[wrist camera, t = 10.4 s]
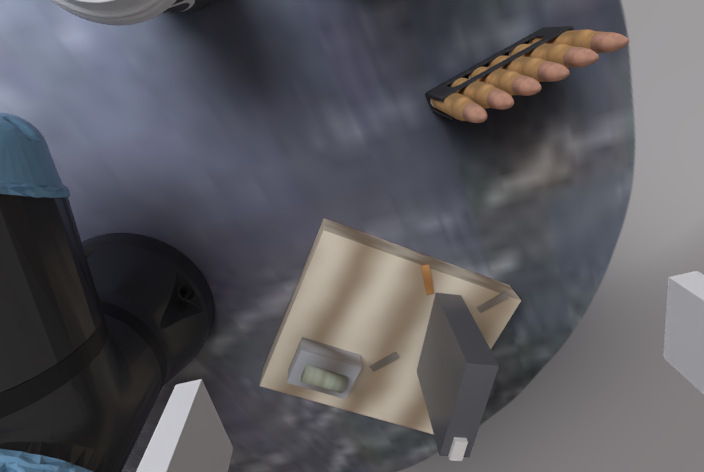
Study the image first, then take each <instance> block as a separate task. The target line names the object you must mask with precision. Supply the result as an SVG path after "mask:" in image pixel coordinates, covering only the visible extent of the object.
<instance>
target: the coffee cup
mask: <svg viewBox="0 0 704 472" xmlns="http://www.w3.org/2000/svg"><path fill="white" fill-rule="evenodd" d="M51 1H53V2H54V3H55V4H57V5H58V6H60V7H61V8H63V9H65V10H66V11H68V12H70V13H72V14H74V15H76V16H78V17H81V18H83V19H86V20H89V21H92V22H96V23H101V24H107V25H131V24H136V23H140V22H144V21H147V20H149V19H151V18H154V17H156V16H157V15H159V14H161V13H168V12H189V11H196V10H199V9H202V8H204V7H206V6H207V5H209V4H210V3H211V2H212V1H213V0H51Z"/></svg>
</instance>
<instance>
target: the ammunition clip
mask: <svg viewBox="0 0 704 472" xmlns="http://www.w3.org/2000/svg"><path fill="white" fill-rule="evenodd" d="M628 43H629V40H628V38H626V37H625V36H623V35H621V34H618V33H613V32H597V31H593V30H588V29H587V30H574V29H573V26H565V27H547V28H541V29H540V30H538V31H536V32H534V33H532V34H531V35H529V36H527V37H525V38H523V39H522V40H520V41H518V42H516V43H514V44H513V45H511V46H509V47H507V48H505V49H504V50H502V51H500V52H498V53H496V54H495V55H493V56H491V57H489V58H487V59H486V60H484V61H482V62H480V63H478V64H477V65H475V66H473V67H471V68H469V69H468V70H466V71H464V72H462V73H460V74H459V75H457V76H455V77H453V78H451V79H450V80H448V81H446V82H444V83H442V84H441V85H439V86H437V87H435V88H433V89H432V90H430V91H428V92H426V94H425V95H426V98H427V100H428V102H429V104H430V107H431V109H432V111H433V113H435V114H438V115H440V116H443V117H445V118H447V119H450V120H453V119H455V118H456V119H458V120H461V121H469V122H472V123H482V122H484V121H485V120H486V119H487V113H486V111H485V109H484V108H495V109H501V110H502V109H508V108H510V107H512V106H513V105H514V99H513V98H512V95H522V96H529V95H534V94H537V93H538V92H540V91H541V88H542V87H541V84H540V83H539V82H554V81H560V80H562V79H565V78H566V77H568V76H569V73H570V72H569V70H568V69H567V68H571V67H583V66H588V65H590V64H593V63H595V62H596V61H597V60H598V59H599V56H598V54H597V53H605V52H611V51H616V50H618V49H621V48H623V47H624V46H626V45H627V44H628Z"/></svg>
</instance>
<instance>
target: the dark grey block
mask: <svg viewBox="0 0 704 472" xmlns="http://www.w3.org/2000/svg"><path fill="white" fill-rule="evenodd" d="M498 368H499V364H498V363H497V361H496V359H495V357H494V355H493V353H492V352H491V350H490V348H489V346H488V344H487V342H486V340H485V339H484V337H483V335H482V333H481V331H480V329H479V328H478V326H477V324H476V322H475V320H474V318H473V316H472V315H471V313H470V311H469V309H468V307H467V305H466V304H465V302H464V300H463V298H462V296H461V295H454V294H444V293H436V294H435V298H434V302H433V306H432V310H431V314H430V318H429V322H428V326H427V331H426V335H425V339H424V343H423V347H422V351H421V355H420V359H419V363H418V367H417V375H418V378H419V382H420V386H421V389H422V393H423V397H424V400H425V404H426V407H427V411H428V415H429V418H430V422H431V426H432V429H433V433H434V436H435V440H436V444H437V447H438V451H439V454H440V455H441V456H448V457H449V460H452V461H462V459H463V457H469V456H470V453H471V450H472V446H473V444H474V441H475V437H476V435H477V432H478V429H479V426H480V423H481V420H482V417H483V414H484V411H485V408H486V405H487V402H488V399H489V396H490V392H491V389H492V386H493V383H494V380H495V377H496V374H497V371H498Z"/></svg>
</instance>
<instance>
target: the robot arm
mask: <svg viewBox="0 0 704 472" xmlns="http://www.w3.org/2000/svg"><path fill="white" fill-rule="evenodd" d="M69 196H70V193H69V190H68V188H67V187H65V186H63V184H62V181H61V179H60V177H59V174H58V172H57V169H56V167H55V164H54V162H53V159H52V156H51V154H50V151H49V148H48V146H47V143H46V141H45V139H44V137H43V136H42V134H41V133H40V132H39V131H38V129H37V128H35V127H34V126H33V125H32V124H30V123H29V122H27V121H26V120H24V119H22V118H20V117H17V116H14V115H10V114H6V113H0V472H121V471H122V469H123V467H124V465H125V463H126V461H127V459H128V457H129V455H130V453H131V451H132V449H133V446H134V444H135V442H136V440H137V438H138V436H139V434H140V432H141V430H142V428H143V426H144V424H145V422H146V420H147V418H148V415H149V413H150V411H151V409H152V407H153V405H154V403H155V401H156V399H157V397H158V394H159V392H160V390H161V388H162V386H164V385H165V384H166V383H167V382H168V381H169V380H170V379H172V378H173V377H174V376H175V375H176V374H177V373H178V372H180V371H181V370H182V369H183V368H184V367H185V366H187V365H188V364H189V363H190V362H191V361H192V360H193V359H194V358H195V357H196V355H197V354H198V353H199V351H200V350H201V348H202V347H203V345H204V343H205V340H206V338H207V336H208V333H209V331H210V328H211V325H212V321H213V315H214V306H213V299H212V295H211V292H210V289H209V286H208V284H207V282H206V280H205V278H204V277H203V275H202V274H201V272H200V271H199V270H198V269H197V267H196V266H195V265H194V264H193V263H192V262H191V261H190V260H189V259H188V258H187V257H186V256H184V255H183V254H182V253H180V252H179V251H177V250H176V249H174V248H173V247H171V246H169V245H167V244H165V243H163V242H161V241H159V240H156V239H153V238H150V237H146V236H142V235H137V234H129V233H113V234H105V235H101V236H97V237H94V238H91V239H88V240H86V241H84V242H81V239H80V236H79V233H78V229H77V226H76V223H75V220H74V216H73V213H72V210H71V206H70V203H69V200H68V197H69ZM663 357H664V359H665V360H667V361H668V362H669V363H670V364H671V365H672V366H673V367H674V368H675V369H676V370H677V371H678V372H679V373H681V374H682V375H683V376H684V377H685V378H686V379H687V380H688V381H689V382H690V383H692V384H693V385H694V386H695V387H696V388H697V389H698V390H699V391H700V392H701V393H702V394H703V395H704V275H703V274H701V273H700V272H698V271H694V272H689V273H685V274H680V275H676V276H671V277H668V294H667V308H666V325H665V341H664V356H663ZM232 452H233V447H232V444H231V442H230V440H229V438H228V436H227V433H226V431H225V429H224V427H223V425H222V422H221V420H220V418H219V416H218V414H217V411H216V409H215V407H214V405H213V403H212V400H211V398H210V396H209V394H208V392H207V389H206V387H205V385H204V383H203V381H202V379H199V380H195V381H190V382H186V383H181V384H176V385H175V387H174V390H173V392H172V394H171V396H170V398H169V401H168V403H167V405H166V407H165V409H164V412H163V414H162V416H161V418H160V420H159V423H158V425H157V427H156V429H155V431H154V434H153V436H152V438H151V440H150V442H149V445H148V447H147V449H146V451H145V453H144V456H143V458H142V460H141V462H140V464H139V467H138V469H137V471H136V472H228V469H229V465H230V461H231V456H232Z"/></svg>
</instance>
